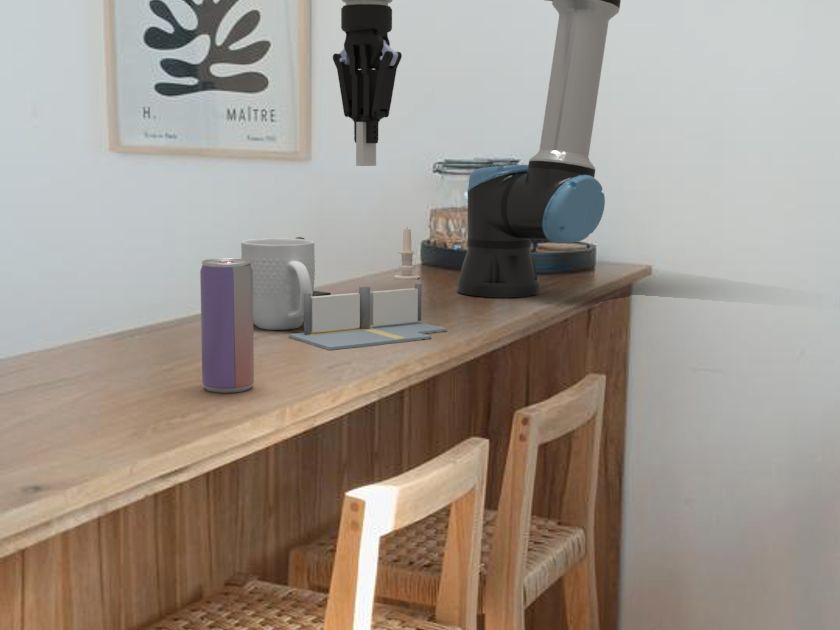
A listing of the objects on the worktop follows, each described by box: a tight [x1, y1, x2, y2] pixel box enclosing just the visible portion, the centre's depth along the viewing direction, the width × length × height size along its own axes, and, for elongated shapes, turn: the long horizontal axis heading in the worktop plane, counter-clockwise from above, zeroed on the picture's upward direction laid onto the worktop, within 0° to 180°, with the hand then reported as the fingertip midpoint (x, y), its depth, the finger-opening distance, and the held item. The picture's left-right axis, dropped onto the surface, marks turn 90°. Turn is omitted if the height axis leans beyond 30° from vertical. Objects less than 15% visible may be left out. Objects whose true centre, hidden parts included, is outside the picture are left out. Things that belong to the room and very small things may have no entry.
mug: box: [240, 237, 316, 331], centre depth 181 cm, size 15×11×13 cm
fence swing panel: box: [370, 283, 423, 326], centre depth 183 cm, size 9×1×6 cm, turn 124°
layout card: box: [288, 321, 448, 351], centre depth 177 cm, size 22×12×1 cm, turn 124°
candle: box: [393, 227, 421, 281], centre depth 241 cm, size 5×5×10 cm
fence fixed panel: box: [303, 286, 371, 335], centre depth 177 cm, size 11×2×7 cm, turn 124°
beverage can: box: [199, 257, 255, 394], centre depth 140 cm, size 6×6×15 cm
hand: (366, 165), depth 182 cm, fingers closed
